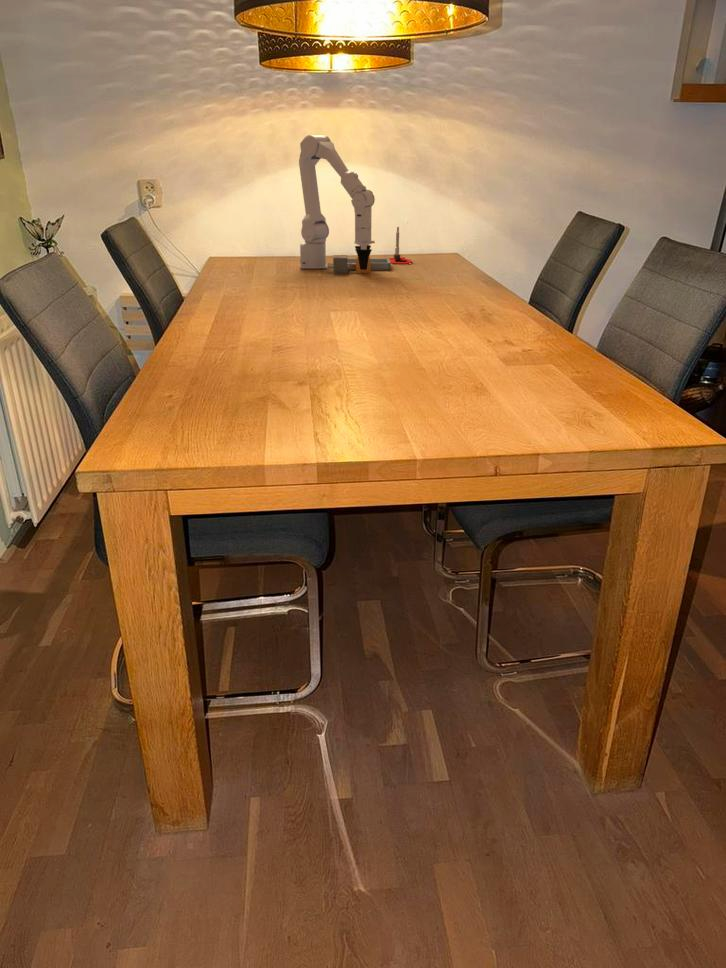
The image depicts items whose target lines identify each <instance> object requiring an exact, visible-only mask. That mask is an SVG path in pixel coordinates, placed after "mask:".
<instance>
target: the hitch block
mask: <svg viewBox="0 0 726 968" xmlns="http://www.w3.org/2000/svg"><path fill="white" fill-rule="evenodd" d="M332 257H333V258H332V260H333V261H332V263H333V269H332V271H333V275H347V274H348V273H349V272H348V271H349V270H348V259H349V258H348V254H333V256H332Z"/></svg>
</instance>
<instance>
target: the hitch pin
mask: <svg viewBox="0 0 726 968" xmlns="http://www.w3.org/2000/svg"><path fill="white" fill-rule="evenodd" d="M355 259H356V263H348V269H356V270H355V273H356V274H371V270H370V259H371V257H370V256H369V259H368V265H367V269H366V270H361V269H360V265H359V258H358V256H355ZM327 269H328V270H333V262H331V263H327Z"/></svg>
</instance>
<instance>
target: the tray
mask: <svg viewBox="0 0 726 968" xmlns="http://www.w3.org/2000/svg"><path fill="white" fill-rule="evenodd" d="M389 258H390V257H389ZM389 258H381V257H380V258H370V271H391V266H392V265H391V263H390V260H389ZM348 263H356V258H348ZM348 271H356V269H348Z"/></svg>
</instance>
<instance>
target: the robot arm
mask: <svg viewBox="0 0 726 968" xmlns="http://www.w3.org/2000/svg"><path fill="white" fill-rule="evenodd" d="M299 145H300V146H299V147H300V153H299V158H298V166H299V167H298V168H299V173H300V174H299V175H300V181H301V189H302V197H303V204H304V210H305V215H304V217H303V218H302V221H301V225H302V227H301V229H300V230H301V231H300V233H301V237H302V239H303V241H304V242H303V241H302V242H301V241H300V243H299V248H300V249H299V253H300V257H299V264H300V269H302V270H303V269H307V270H308V269H309V270H310V269H311V270H312V269H313V270H314V269H322V270H323V269H328V263H327V261H326V260H327V258H326V257H327V255H326V253H327V252H326V241H327V238H328V237H329V235H330V228H329V226H328V224H327V219H326V217H325V216H324V215H323V213H322V210H321V202H320V196H319V195H320V194H319V186H318V179H317V170H316V166H317V164H318V163H319V162H320V161H321V159H323V160H326V161H327V162H328V163H329V164H330V167H332V168H333V170H334V171H335V172H336V174H338V176H339V177H340V184H341V186H342V187H343V188H344V190H345V192H347V193H346V194H348V195H349V197H350V198H351V205H352V207H353V210H354V244H355V246H354V248H355V250H354V251H355V253H356V255H357V257H358V258H359V265H360V269H361V270H366V269H367V265H368V259H369V257H370V255H371V252H372V251H373V249H372V246H371V244H375V240H372V206H373V205H375V201H376V197H375V195H374V194H373V191H372V190H370V189H367V186H365V185H364V184H363V183H362V181H361V180H360V179H359V175H358V173H357V172H356V173H355V172H354V171H351V170H350V171H349V169H348V167H347V166H346V165H345V163H344V161H343V159H342V158H341V156H340V155H339V153H338V151H337V150H336V148H335V144H334V142H332V141H331V139H330V137H329V136H328V135H325V134H322V135H312V134H309V135H306V136H304V137H303V139H302V141H301V142H300V144H299Z"/></svg>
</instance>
